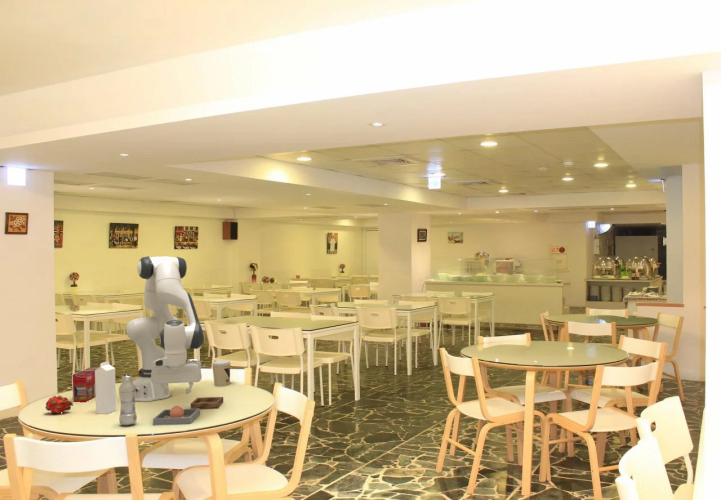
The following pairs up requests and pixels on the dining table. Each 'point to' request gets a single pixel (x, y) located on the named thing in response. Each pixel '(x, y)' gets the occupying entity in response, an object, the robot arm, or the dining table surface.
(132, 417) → the plastic bottle
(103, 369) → the milk
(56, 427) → the dining table surface
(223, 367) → the coffee cup
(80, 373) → the ice cream box
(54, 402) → the dragon fruit
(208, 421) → the dining table surface
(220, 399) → the tray
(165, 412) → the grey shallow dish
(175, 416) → the ball
